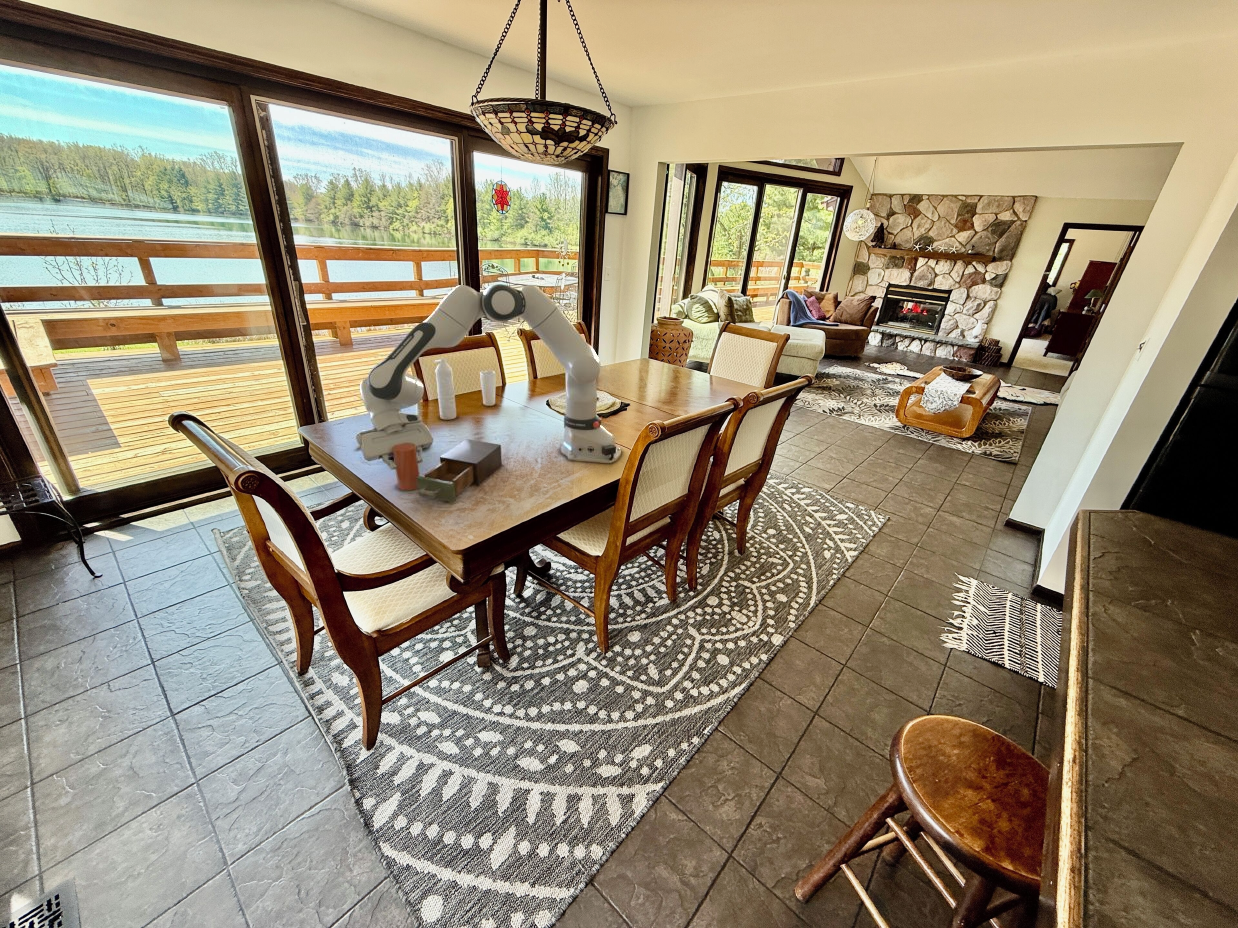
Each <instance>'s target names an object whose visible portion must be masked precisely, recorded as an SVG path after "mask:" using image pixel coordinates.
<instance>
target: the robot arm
mask: <svg viewBox="0 0 1238 928" xmlns="http://www.w3.org/2000/svg"><path fill="white" fill-rule="evenodd" d="M517 317H518V318H521V319H522V320H523V321H525V322H526V324H528V326H529V328H530V329H531V330H532V331H533V332H534V333H535V334H536V335H537V336H538V338H539V339H540V340H541V341H542V342H543V343H544V345H546V347H547V349H549V350H550V352H551V353H552V354H553V356H554V357H555V358H556V359H557V361H558V362H559V363H560V365H561V366H562V367H563V368H564V370H565V371H564V377H565V378H564V379H565V413H564V414H563V415H564V417H563V428H564V433H563V439H562V443H561V447H560V452H561V453H562V454H563V455H564V456H566V457H567V459H568V460H569V461H577V462H589V463H600V464H601V463H602V464H613V463H614V462H616V461H617V460H619V458H620V457H621V455H622V450H621V449H622V448H621V447H619V446H618V445H616V439H615V437H614V435H613V434H612V433H611V432H609V431H608V430H607V429H606V428H605V427H604V426H602V421H603V416H598V415H597V404H598V400H597V399H598V391H597V390H598V389H597V387H598V386H597V379H598V377H599V376H600V373H601V367H602V366H601V360H600V358H599V356H598V355H597V353H596V351H595V349H594V348H593V346H592V345H590V344H589V343H588V342H586V340H585V339H584V337H583V336H582V334H580V333H579V331H578V330H577V328H576V327H575V326H574V325H573V323H572V322H571V321H570V320H569V319H568V317H567V316H566V315H565V314H564V313H563V312H562V310H561V309H560V308H559V306H557V304H556V303H555V302H554V301H553V300H552V299H551V298H550V297H549V295H547V294H546V293H545V292H544V291H543V290H542V289H541V288H539V287H538V286H536V284H535V285H534V284H527V285H524V286H523V287H521V288H520V289H517V288H514V287H511V286H509V285H506V284H502V283H500V284H494V285H490V286H489V287H487V288H486V289H484V290H482V291H479V292H478V291H477V290H475V289H474V288H472V287H471V286H469V285H464V284H461V285H457V286H455V287H454V288H452V290H451V291H450V292H448V294H446V295H445V297H443V299H442V300H441V302H440V303H439V304H438V306H436V308H435V310H434V311H433V312H432V314H431V315H429V317H428V318H426V319H425V320H424V321H423V322H420V323H418V324H417V325H415V326H414V327H413V328H412V329H411V330H410V331H409V332H408V333H407V334H406V335H405V337H404V338H403V339H402V340H401V341H400V342H399V343H398V344H397V345H396V347H394V349H393V350H392V351H391V352H390V353H389V354H388V355H387V356H386V357H385V358H384V359H382V361H380V362H379V363H377V364H376V365H375V366H374V367H372V368H371V370H370V371H369V373H368V375H367V376H366V377H364V378H363V380H362V381H361V382H360V385H359V393H360V397H361V400H362V403H363V405H364V407H365V410H366V411H367V412H368V414H369V416H370V421H371V424H372V427H373V428H370V429H366V430H361V431H359V432H358V433H356V435H355V440H356V442H357V444H358V445H359V446H360V445H361V448H360V449H361V452H362V456H363V458H364V460H366V461H367V462H372V461H377V460H380V459H381V460H382V462H383V463H384V464H385V465H387V466H388V467H389V469H390V471H394V470H396V469H397V465H396V463H395V462H394V461H391V460H389V459H388V457H389V456H393V450H392V447H393V446H394V445H398V444H402V443H413V444H415V445H416V452H417V460H418V464H420V463H421V464H422V463H423V461H424V459H423V456H422V453H423V450H422V448H426V449H428V448H430V447H432V445H433V443H434V436H433V434H432V432H431V431H430V429H429V428H428V426H427V424H426V423H424V422H423V421H422V417H421V415H420V414H411V413H403V412H402V411H401V410H404V409H407V408H411V407H413V406H416V405H418V404H419V403H420V402H421V401H422V399H423V398H424V395H425V386H424V383H423V382H422V380H420V378H418V377H416V376H414V375H412V374H410V373H408V372H407V371H408V370H409V369H410V368H411V366H412V365H413V364H414V363H415V362H416V361H417V360H418V359H419V357H420V356H421V355H422V354H423V353H424V352H425V351H428V350H431V349H434V348H441V349H443V348H445V349H447V348H454V347H456V346H458V345H459V344H460V343H461V342H462V341H463V340H464V338H466V336H467V335H468V333H469V332H470V330H471V329H472V327H473V326H474V325H475V323H476V322H477V321H478V320H479V319H481V318H482V319H485V320H488V321H491V322H493V323H499V324H501V323H506V322H508V321H511V320H513V319H515V318H517ZM427 447H428V448H427Z"/></svg>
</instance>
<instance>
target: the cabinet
mask: <svg viewBox="0 0 1238 928" xmlns="http://www.w3.org/2000/svg"><path fill="white" fill-rule="evenodd" d="M445 460H446V461H452V462H457V463H463V464H468V465H474V468H475V481H474V482H473V483H471V484H470V485H471V486H477V487H479V486H480V485H482V483H483V482H485V481H486V480H487V479H488V478H489V477H490V476H492V475H493V474H494V473H495V472H496V471H497V470H498V469H500V468H501V467H502V466H503V463H502V462H503V461H502V460H503V459H502V444H499V443H493V442H487V441H481V440H475V439H469V438H466V439H464V440H463V441H461V442H459V443H458V444H457V445H455V446H453V447H452V448H451V449H449V450H447V451H446V452H444V453H443V454H442V455H440V456H439V464H441V463H442V462H443V461H445Z"/></svg>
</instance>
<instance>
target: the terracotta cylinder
mask: <svg viewBox="0 0 1238 928" xmlns="http://www.w3.org/2000/svg"><path fill="white" fill-rule="evenodd" d="M392 450H393V456H394V461H393V462H395V463H396V465H397V469H395V474H396V479H397V480H396V481H397V488H398V489H399V490H401V491H413V490H417V489H418V487H417V479H416V477H418V476H421V475H420V469H419V468H420V467H419V463H418V460H417V456H418V453H417V452H416V445H415V444H413V443H402V444H398V445H394V446H393V447H392Z"/></svg>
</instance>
